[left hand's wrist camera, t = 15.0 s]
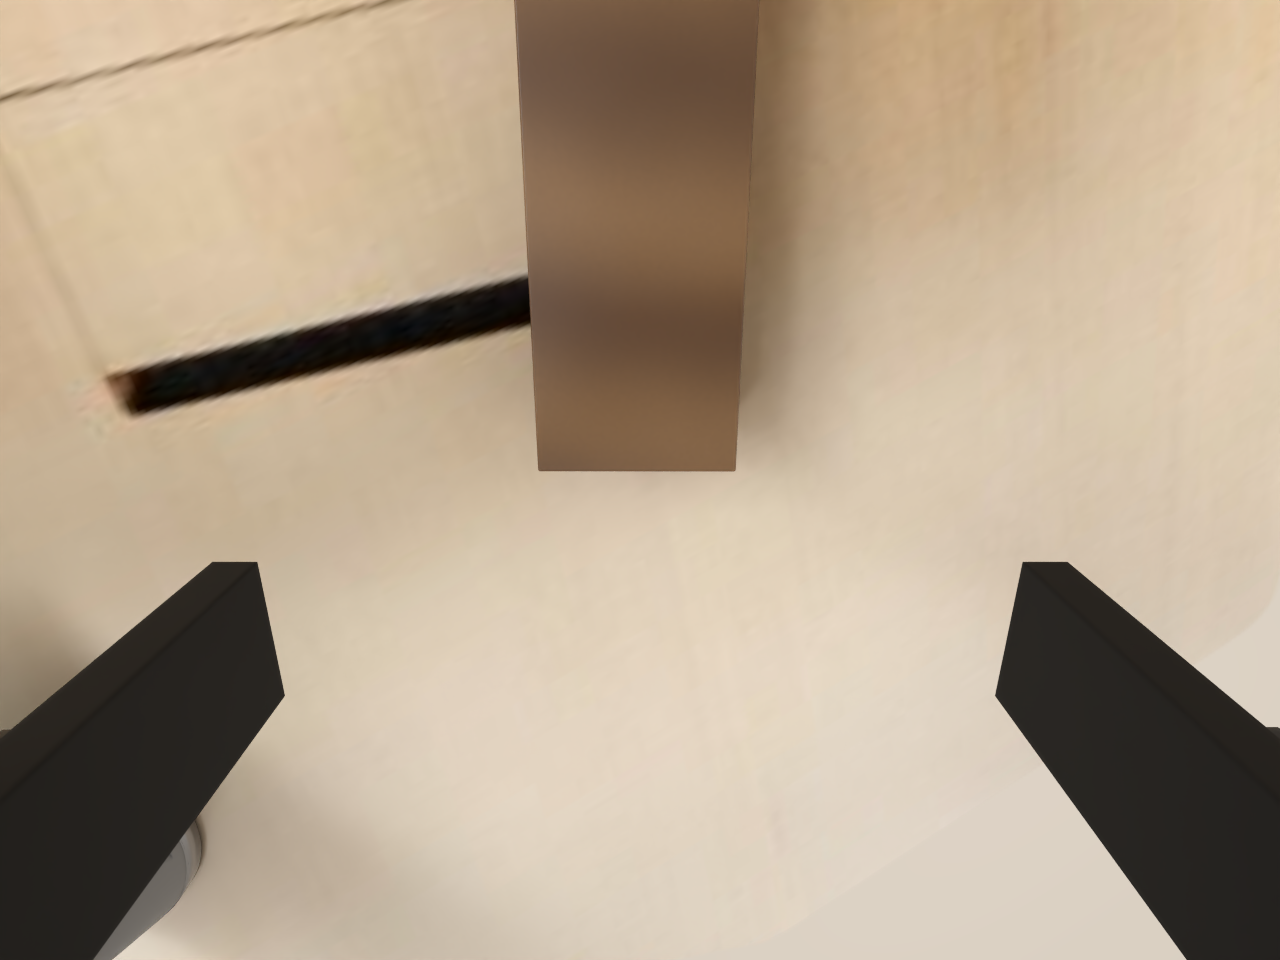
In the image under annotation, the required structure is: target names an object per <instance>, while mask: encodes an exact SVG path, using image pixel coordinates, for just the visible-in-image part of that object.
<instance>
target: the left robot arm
mask: <svg viewBox="0 0 1280 960" xmlns="http://www.w3.org/2000/svg"><path fill="white" fill-rule="evenodd" d="M284 696H285V694H284V689H283V684H282V680H281V675H280V670H279V665H278V660H277V655H276V651H275V646H274V641H273V636H272V631H271V626H270V622H269V617H268V612H267V607H266V602H265V597H264V592H263V588H262V583H261V578H260V573H259V568H258V563H257V562H212V563H211V564H210V565H208V566H207V567H206V568H205V569H204V570H202V571H201V572H200V573H199V574H198V575H196V576H195V577H194V578H193V579H192V580H190V581H189V582H188V583H187V584H186V585H184V586H183V587H182V588H181V589H180V590H178V591H177V592H176V593H175V594H174V595H172V596H171V597H170V598H169V599H167V600H166V601H165V602H164V603H163V604H161V605H160V606H159V607H158V608H157V609H155V610H154V611H153V612H152V613H151V614H149V615H148V616H147V617H146V618H145V619H143V620H142V621H141V622H140V623H139V624H137V625H136V626H135V627H134V628H133V629H131V630H130V631H129V632H128V633H127V634H125V635H124V636H123V637H122V638H121V639H119V640H118V641H117V642H116V643H115V644H113V645H112V646H111V647H110V648H109V649H107V650H106V651H105V652H104V653H103V654H101V655H100V656H99V657H98V658H97V659H95V660H94V661H93V662H92V663H91V664H89V665H88V666H87V667H86V668H85V669H83V670H82V671H81V672H80V673H79V674H77V675H76V676H75V677H74V678H73V679H71V680H70V681H69V682H68V683H67V684H65V685H64V686H63V687H62V688H61V689H59V690H58V691H57V692H56V693H55V694H53V695H52V696H51V697H50V698H49V699H47V700H46V701H45V702H44V703H43V704H41V705H40V706H39V707H38V708H37V709H35V710H34V711H33V712H32V713H30V714H29V715H28V716H27V717H26V718H24V719H23V720H22V721H21V722H20V723H18V724H17V725H16V726H15V727H14V728H12V729H11V730H2V731H0V960H112V959H114V958H115V957H116V956H117V955H118V954H119V953H121V952H122V951H123V950H124V949H125V948H127V947H128V946H129V945H130V944H131V943H132V942H134V941H135V940H136V939H137V938H138V937H140V936H141V935H142V934H143V933H144V932H145V931H147V930H148V929H149V928H150V927H151V926H153V925H154V924H155V923H156V922H157V921H158V920H160V919H161V918H162V917H163V916H164V915H165V914H166V913H168V912H169V911H170V910H171V909H172V908H173V907H174V906H175V904H176V903H177V902H178V900H179V899H180V897H181V896H182V894H183V893H184V891H185V890H186V888H187V887H188V885H189V884H190V882H191V881H192V879H193V878H194V876H195V874H196V872H197V870H198V867H199V864H200V859H201V839H200V834H199V831H198V828H197V825H196V822H195V819H196V817H197V816H198V815H199V813H200V812H201V811H202V809H203V808H204V806H205V805H206V804H207V802H208V801H209V800H210V798H211V797H212V795H213V794H214V793H215V791H216V790H217V789H218V787H219V786H220V784H221V783H222V782H223V780H224V779H225V778H226V776H227V775H228V773H229V772H230V771H231V769H232V768H233V766H234V765H235V764H236V762H237V761H238V760H239V758H240V757H241V755H242V754H243V753H244V751H245V750H246V749H247V747H248V746H249V744H250V743H251V742H252V740H253V739H254V738H255V736H256V735H257V733H258V732H259V731H260V729H261V728H262V727H263V725H264V724H265V722H266V721H267V720H268V718H269V717H270V716H271V714H272V713H273V711H274V710H275V709H276V707H277V706H278V704H279V703H280V702H281V700H282V699H283V698H284ZM995 696H996V698H997V699H998V700H999V702H1000V703H1001V704H1002V706H1003V707H1004V709H1005V710H1006V711H1007V713H1008V714H1009V716H1010V717H1011V718H1012V720H1013V721H1014V722H1015V724H1016V725H1017V727H1018V728H1019V729H1020V731H1021V732H1022V733H1023V735H1024V736H1025V738H1026V739H1027V740H1028V742H1029V743H1030V744H1031V746H1032V747H1033V749H1034V750H1035V751H1036V753H1037V754H1038V755H1039V757H1040V758H1041V760H1042V761H1043V762H1044V764H1045V765H1046V767H1047V768H1048V769H1049V771H1050V772H1051V773H1052V775H1053V776H1054V777H1055V779H1056V780H1057V782H1058V783H1059V784H1060V786H1061V787H1062V789H1063V790H1064V791H1065V793H1066V794H1067V795H1068V797H1069V798H1070V800H1071V801H1072V802H1073V804H1074V805H1075V806H1076V808H1077V809H1078V811H1079V812H1080V813H1081V815H1082V816H1083V817H1084V819H1085V820H1086V822H1087V823H1088V824H1089V826H1090V827H1091V829H1092V830H1093V831H1094V833H1095V834H1096V835H1097V837H1098V838H1099V840H1100V841H1101V842H1102V844H1103V845H1104V846H1105V848H1106V849H1107V851H1108V852H1109V853H1110V855H1111V856H1112V857H1113V859H1114V860H1115V862H1116V863H1117V864H1118V866H1119V867H1120V868H1121V870H1122V871H1123V873H1124V874H1125V875H1126V877H1127V878H1128V879H1129V881H1130V882H1131V884H1132V885H1133V886H1134V888H1135V889H1136V890H1137V892H1138V893H1139V895H1140V896H1141V897H1142V899H1143V900H1144V902H1145V903H1146V904H1147V906H1148V907H1149V908H1150V910H1151V911H1152V913H1153V914H1154V915H1155V917H1156V918H1157V919H1158V921H1159V922H1160V923H1161V925H1162V926H1163V928H1164V929H1165V930H1166V932H1167V933H1168V935H1169V936H1170V937H1171V939H1172V940H1173V942H1174V943H1175V944H1176V946H1177V947H1178V948H1179V950H1180V951H1181V953H1182V954H1183V955H1184V957H1185V958H1186V959H1187V960H1280V728H1278V727H1265V726H1264V725H1263V724H1262V723H1260V722H1259V721H1258V720H1257V719H1255V718H1254V717H1253V716H1252V715H1251V714H1249V713H1248V712H1247V711H1246V710H1245V709H1243V708H1242V707H1241V706H1240V705H1239V704H1237V703H1236V702H1235V701H1234V700H1233V699H1231V698H1230V697H1229V696H1228V695H1227V694H1225V693H1224V692H1223V691H1222V690H1221V689H1219V688H1218V687H1217V686H1216V685H1215V684H1213V683H1212V682H1211V681H1210V680H1209V679H1207V678H1206V677H1205V676H1204V675H1203V674H1201V673H1200V672H1199V671H1198V670H1197V669H1195V668H1194V667H1193V666H1192V665H1191V664H1189V663H1188V662H1187V661H1186V660H1185V659H1183V658H1182V657H1181V656H1180V655H1179V654H1177V653H1176V652H1175V651H1174V650H1173V649H1171V648H1170V647H1169V646H1168V645H1167V644H1165V643H1164V642H1163V641H1162V640H1161V639H1159V638H1158V637H1157V636H1156V635H1155V634H1153V633H1152V632H1151V631H1150V630H1149V629H1147V628H1146V627H1145V626H1144V625H1143V624H1141V623H1140V622H1139V621H1138V620H1137V619H1135V618H1134V617H1133V616H1132V615H1131V614H1129V613H1128V612H1127V611H1126V610H1125V609H1123V608H1122V607H1121V606H1120V605H1119V604H1117V603H1116V602H1115V601H1114V600H1113V599H1111V598H1110V597H1109V596H1108V595H1106V594H1105V593H1104V592H1103V591H1102V590H1100V589H1099V588H1098V587H1097V586H1096V585H1094V584H1093V583H1092V582H1091V581H1090V580H1088V579H1087V578H1086V577H1085V576H1084V575H1082V574H1081V573H1080V572H1079V571H1078V570H1076V569H1075V568H1074V567H1073V566H1072V565H1070V564H1069V563H1068V562H1023V563H1022V568H1021V573H1020V578H1019V583H1018V588H1017V592H1016V597H1015V602H1014V607H1013V612H1012V617H1011V621H1010V626H1009V631H1008V636H1007V641H1006V646H1005V651H1004V655H1003V660H1002V665H1001V670H1000V675H999V680H998V684H997V689H996V694H995Z"/></svg>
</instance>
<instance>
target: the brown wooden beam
mask: <svg viewBox="0 0 1280 960" xmlns="http://www.w3.org/2000/svg"><path fill="white" fill-rule="evenodd" d="M514 4H515V24H516V43H517V63H518V82H519V102H520V122H521V141H522V161H523V181H524V200H525V220H526V239H527V259H528V279H529V298H530V318H531V338H532V357H533V377H534V396H535V416H536V436H537V455H538V470H539V471H735V470H736V451H737V431H738V411H739V392H740V372H741V352H742V332H743V313H744V293H745V273H746V253H747V234H748V214H749V194H750V174H751V154H752V135H753V115H754V95H755V75H756V56H757V36H758V16H759V0H514Z"/></svg>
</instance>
